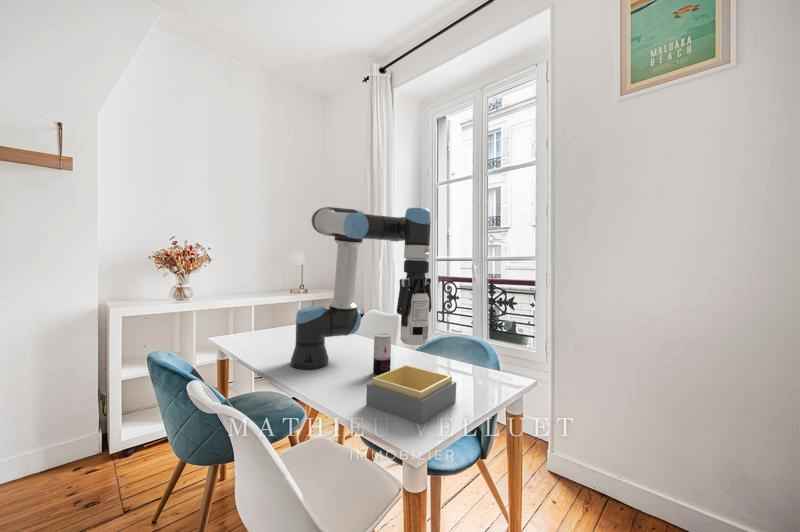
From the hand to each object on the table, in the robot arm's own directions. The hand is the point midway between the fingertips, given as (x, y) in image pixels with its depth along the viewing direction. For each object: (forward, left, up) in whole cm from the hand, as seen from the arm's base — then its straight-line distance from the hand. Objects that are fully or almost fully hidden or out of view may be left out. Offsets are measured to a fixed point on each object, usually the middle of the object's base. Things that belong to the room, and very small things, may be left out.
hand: (414, 334), depth 108 cm
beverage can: (-26, +17, -22) cm, 38 cm away
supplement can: (0, 0, -2) cm, 2 cm away
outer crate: (0, 0, -22) cm, 22 cm away
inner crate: (0, 0, -21) cm, 21 cm away
